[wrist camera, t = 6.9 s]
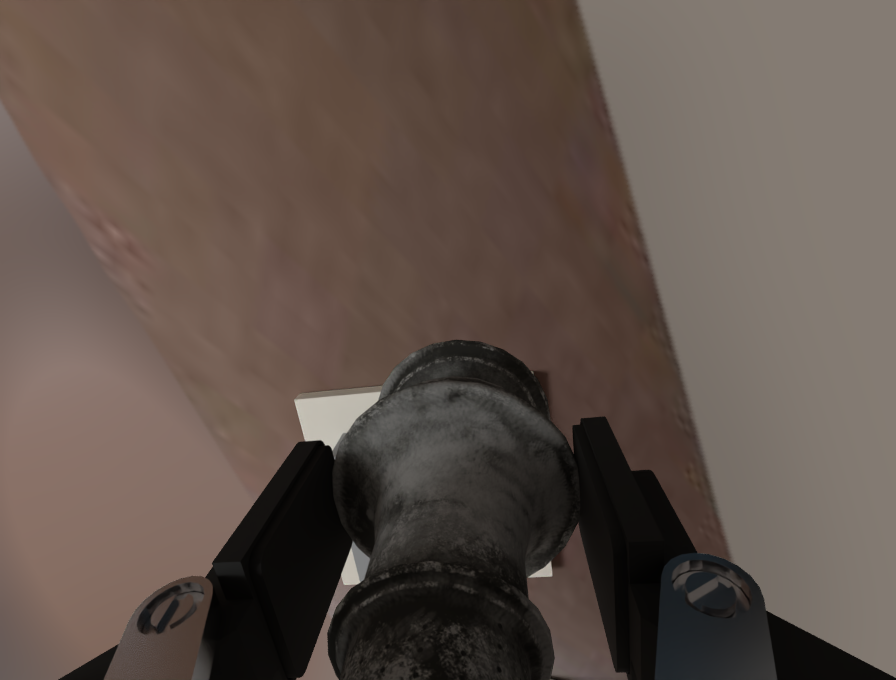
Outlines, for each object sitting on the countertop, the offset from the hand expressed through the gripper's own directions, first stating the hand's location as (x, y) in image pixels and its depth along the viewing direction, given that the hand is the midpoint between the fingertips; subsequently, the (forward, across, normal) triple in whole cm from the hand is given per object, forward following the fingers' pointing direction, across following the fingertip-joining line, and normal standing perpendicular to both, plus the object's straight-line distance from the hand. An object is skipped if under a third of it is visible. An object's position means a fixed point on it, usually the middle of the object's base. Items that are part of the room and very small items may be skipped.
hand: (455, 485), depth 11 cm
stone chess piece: (+3, 0, 0) cm, 3 cm away
